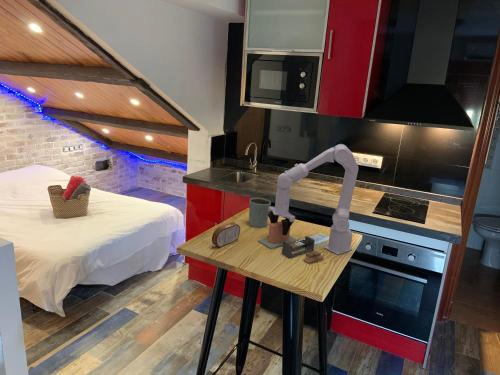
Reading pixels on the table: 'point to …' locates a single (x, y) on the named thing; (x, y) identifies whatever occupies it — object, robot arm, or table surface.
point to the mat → (277, 244)
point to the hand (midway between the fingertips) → (279, 232)
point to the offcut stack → (313, 257)
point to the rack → (288, 248)
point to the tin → (226, 234)
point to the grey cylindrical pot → (258, 212)
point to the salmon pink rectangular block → (277, 233)
